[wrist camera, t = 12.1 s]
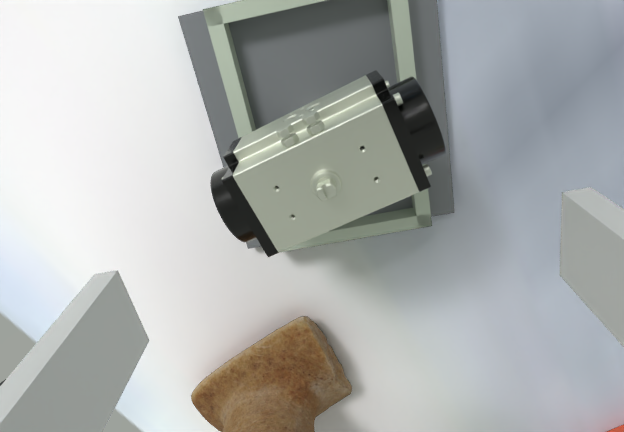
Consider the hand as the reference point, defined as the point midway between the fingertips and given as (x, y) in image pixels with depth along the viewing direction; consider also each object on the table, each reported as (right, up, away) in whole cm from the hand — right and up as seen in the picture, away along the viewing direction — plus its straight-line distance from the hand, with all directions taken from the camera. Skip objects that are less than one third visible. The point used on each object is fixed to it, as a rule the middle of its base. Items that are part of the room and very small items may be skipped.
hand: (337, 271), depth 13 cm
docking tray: (0, +9, +19) cm, 20 cm away
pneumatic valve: (0, +8, +18) cm, 20 cm away
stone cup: (-4, -14, +29) cm, 33 cm away
